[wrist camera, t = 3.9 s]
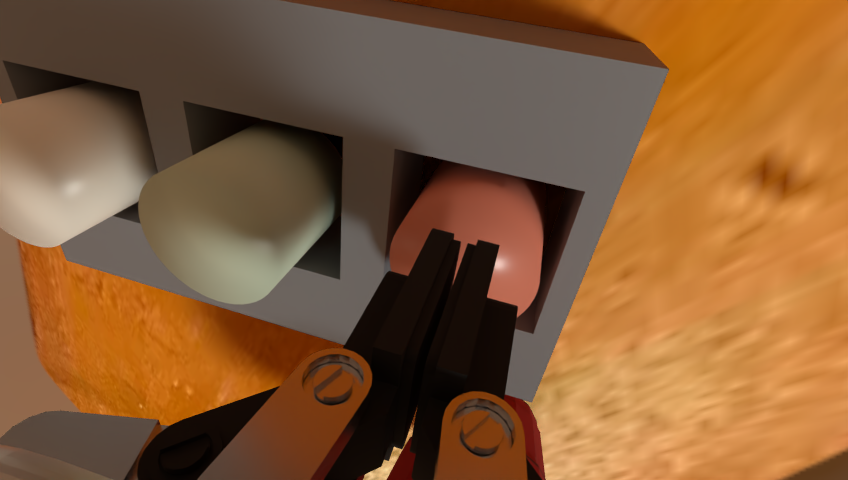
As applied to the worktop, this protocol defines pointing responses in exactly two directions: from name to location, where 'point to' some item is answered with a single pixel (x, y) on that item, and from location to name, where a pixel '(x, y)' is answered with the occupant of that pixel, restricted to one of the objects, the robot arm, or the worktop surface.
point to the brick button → (481, 225)
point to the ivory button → (71, 160)
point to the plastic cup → (404, 464)
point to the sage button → (243, 209)
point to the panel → (355, 126)
